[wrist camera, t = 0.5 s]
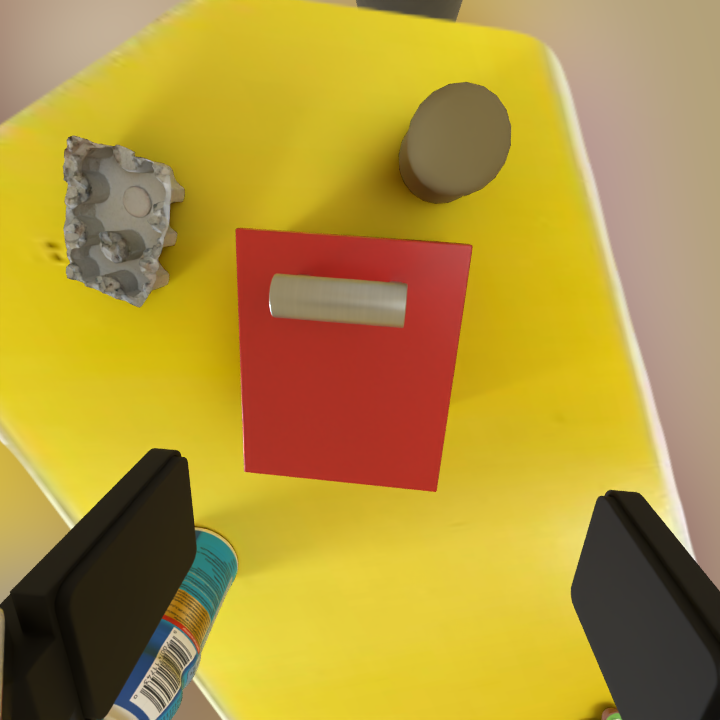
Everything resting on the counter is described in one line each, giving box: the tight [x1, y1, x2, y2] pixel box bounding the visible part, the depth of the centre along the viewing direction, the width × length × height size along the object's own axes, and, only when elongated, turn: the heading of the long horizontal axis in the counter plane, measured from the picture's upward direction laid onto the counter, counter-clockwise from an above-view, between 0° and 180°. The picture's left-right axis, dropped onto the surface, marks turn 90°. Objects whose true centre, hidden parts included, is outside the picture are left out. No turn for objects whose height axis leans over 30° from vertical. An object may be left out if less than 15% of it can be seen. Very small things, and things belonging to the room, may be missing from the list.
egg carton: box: [63, 136, 185, 307], centre depth 32 cm, size 11×8×4 cm
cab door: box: [236, 228, 472, 492], centre depth 24 cm, size 15×13×6 cm
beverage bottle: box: [102, 527, 238, 720], centre depth 36 cm, size 8×8×20 cm
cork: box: [399, 82, 511, 204], centre depth 26 cm, size 6×6×11 cm
